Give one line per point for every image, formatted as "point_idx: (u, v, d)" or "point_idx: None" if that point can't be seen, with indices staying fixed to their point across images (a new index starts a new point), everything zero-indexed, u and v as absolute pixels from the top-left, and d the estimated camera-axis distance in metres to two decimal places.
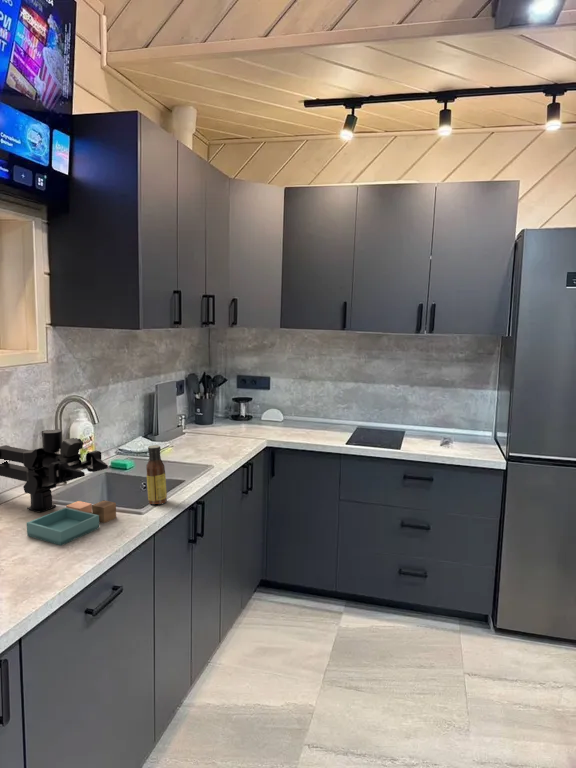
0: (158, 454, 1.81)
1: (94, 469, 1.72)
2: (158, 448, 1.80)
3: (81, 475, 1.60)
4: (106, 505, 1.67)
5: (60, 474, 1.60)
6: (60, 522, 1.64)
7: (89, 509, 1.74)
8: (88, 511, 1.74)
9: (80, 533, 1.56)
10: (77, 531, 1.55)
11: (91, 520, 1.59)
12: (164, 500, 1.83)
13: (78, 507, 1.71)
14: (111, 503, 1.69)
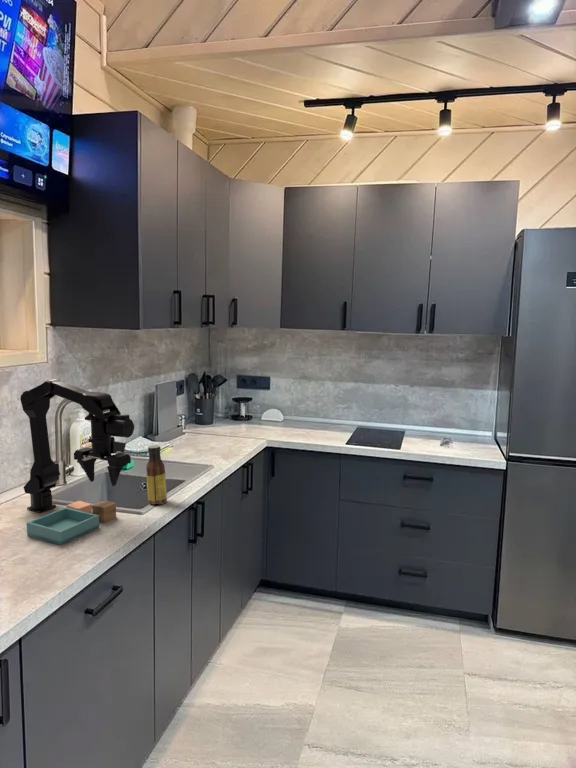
0: (158, 454, 1.81)
1: (85, 464, 1.68)
2: (158, 448, 1.80)
3: (114, 483, 1.65)
4: (106, 505, 1.67)
5: None
6: (60, 522, 1.64)
7: (89, 509, 1.74)
8: (88, 511, 1.74)
9: (80, 533, 1.56)
10: (77, 531, 1.55)
11: (91, 520, 1.59)
12: (164, 500, 1.83)
13: (78, 507, 1.71)
14: (111, 503, 1.69)
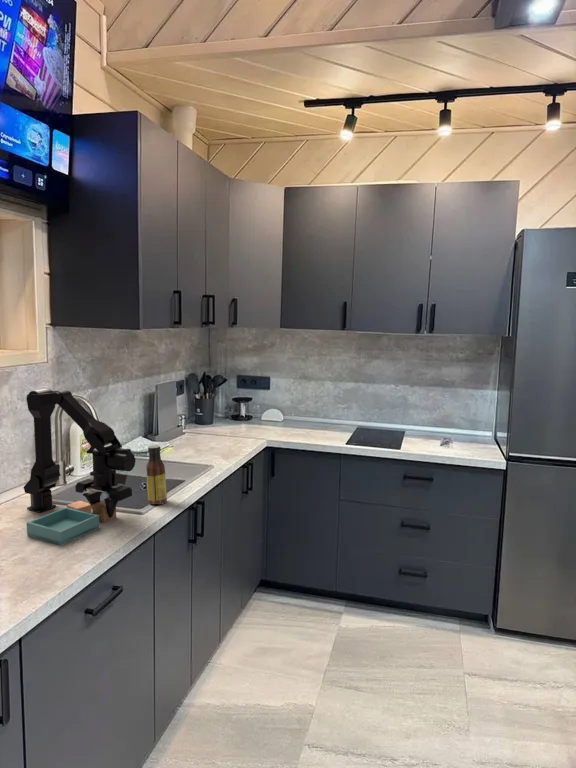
0: (158, 454, 1.81)
1: (91, 497, 1.68)
2: (158, 448, 1.80)
3: (110, 515, 1.67)
4: None
5: None
6: (60, 522, 1.64)
7: (89, 509, 1.74)
8: (87, 511, 1.73)
9: (80, 533, 1.56)
10: (77, 531, 1.55)
11: (91, 520, 1.59)
12: (164, 500, 1.83)
13: (77, 507, 1.71)
14: None
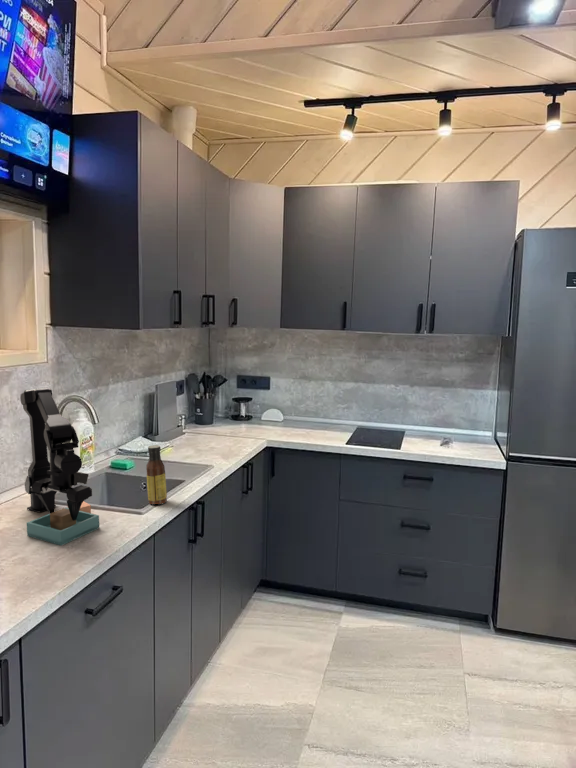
0: (158, 454, 1.81)
1: (45, 496, 1.58)
2: (158, 448, 1.80)
3: (74, 518, 1.56)
4: (65, 514, 1.57)
5: None
6: None
7: (88, 510, 1.73)
8: None
9: (80, 533, 1.56)
10: (77, 531, 1.55)
11: (91, 520, 1.59)
12: (164, 500, 1.83)
13: None
14: None
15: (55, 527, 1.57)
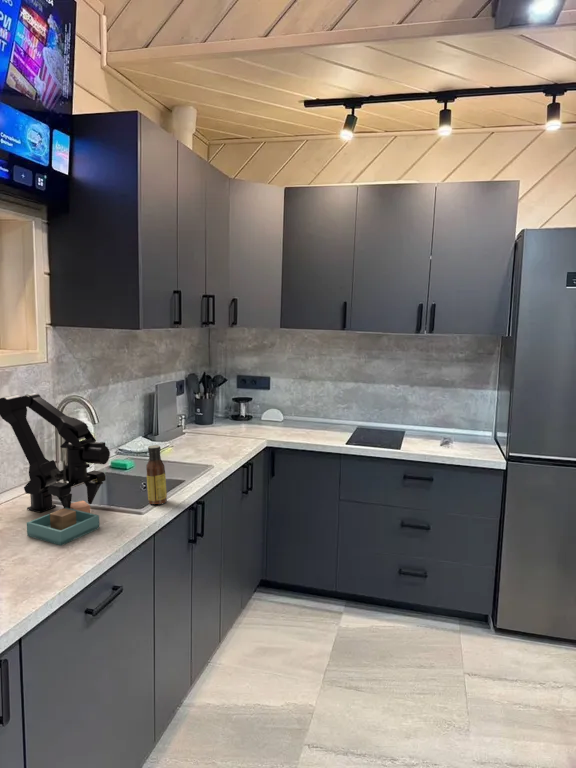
0: (158, 454, 1.81)
1: None
2: (158, 448, 1.80)
3: None
4: (65, 514, 1.57)
5: None
6: None
7: (87, 510, 1.73)
8: None
9: (80, 533, 1.56)
10: (77, 531, 1.55)
11: (91, 520, 1.59)
12: (164, 500, 1.83)
13: (75, 507, 1.71)
14: (71, 511, 1.59)
15: (55, 527, 1.57)
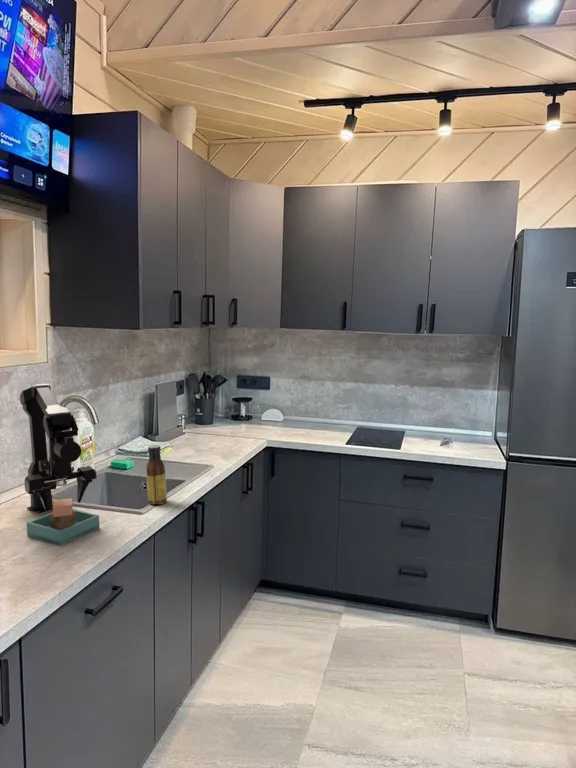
0: (158, 454, 1.81)
1: None
2: (158, 448, 1.80)
3: None
4: None
5: None
6: None
7: (68, 510, 1.56)
8: (66, 512, 1.56)
9: (80, 533, 1.56)
10: (77, 531, 1.55)
11: (91, 520, 1.59)
12: (164, 500, 1.83)
13: (55, 505, 1.56)
14: None
15: (55, 527, 1.57)
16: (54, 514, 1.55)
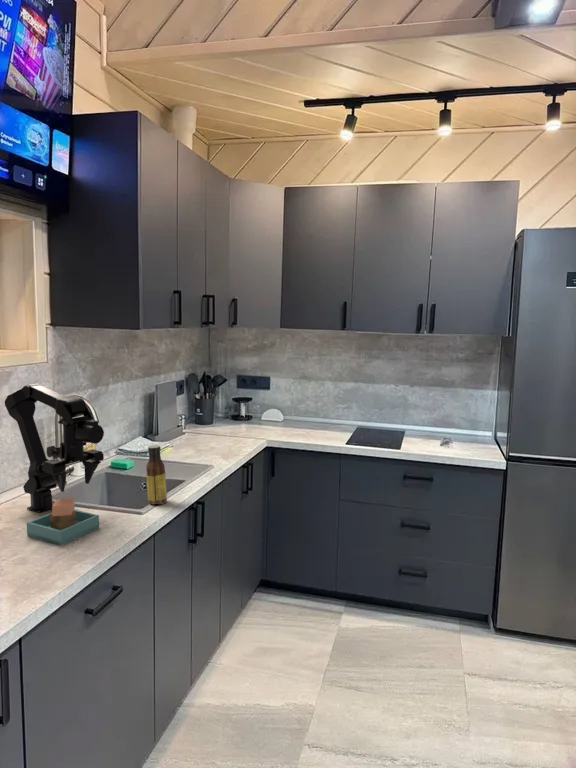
0: (158, 454, 1.81)
1: None
2: (158, 448, 1.80)
3: None
4: None
5: None
6: None
7: (67, 510, 1.56)
8: (65, 512, 1.56)
9: (80, 533, 1.56)
10: (77, 531, 1.55)
11: (91, 520, 1.59)
12: (164, 500, 1.83)
13: (55, 504, 1.56)
14: None
15: (55, 527, 1.57)
16: (53, 513, 1.55)
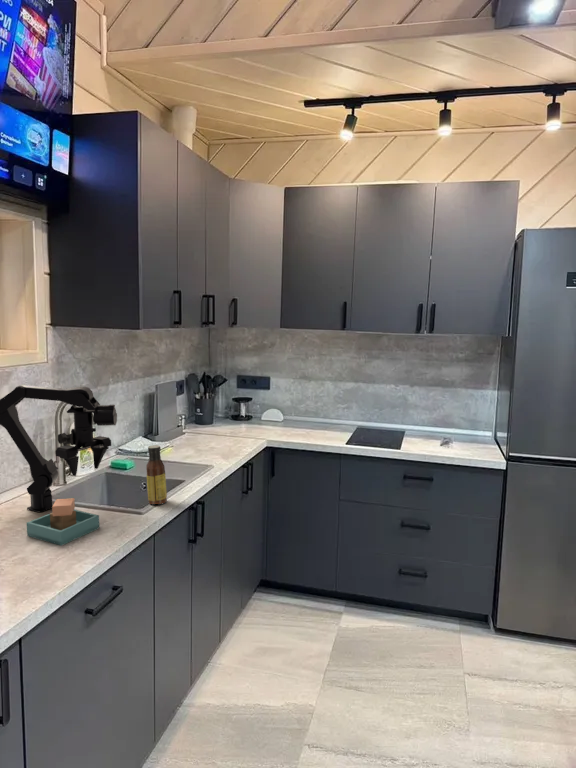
0: (158, 454, 1.81)
1: None
2: (158, 448, 1.80)
3: None
4: None
5: None
6: None
7: (67, 510, 1.56)
8: (65, 512, 1.56)
9: (80, 533, 1.56)
10: (77, 531, 1.55)
11: (91, 520, 1.59)
12: (164, 500, 1.83)
13: (55, 504, 1.56)
14: None
15: (55, 527, 1.57)
16: (53, 513, 1.55)
